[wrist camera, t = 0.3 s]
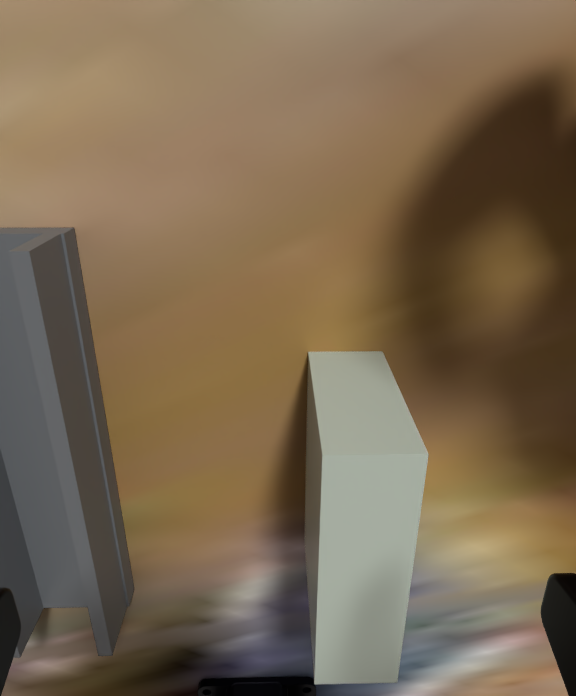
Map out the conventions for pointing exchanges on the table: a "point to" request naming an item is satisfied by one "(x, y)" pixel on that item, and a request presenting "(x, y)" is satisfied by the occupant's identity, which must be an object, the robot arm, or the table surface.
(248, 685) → the robot arm
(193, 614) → the table surface
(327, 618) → the pale grey rectangular block
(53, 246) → the dish rack
